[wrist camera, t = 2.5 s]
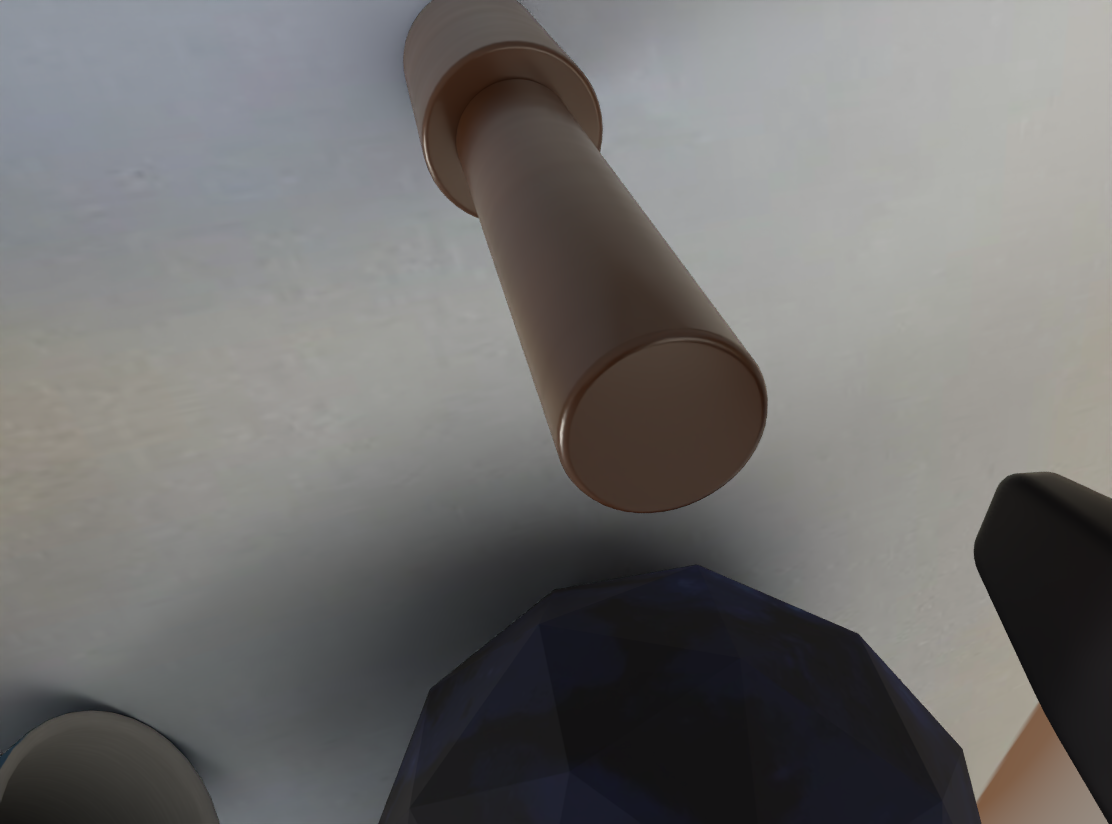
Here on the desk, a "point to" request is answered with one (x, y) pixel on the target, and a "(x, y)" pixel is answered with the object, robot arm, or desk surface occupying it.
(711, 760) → the decorative orb
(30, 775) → the cup
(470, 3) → the muddler
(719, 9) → the desk surface
